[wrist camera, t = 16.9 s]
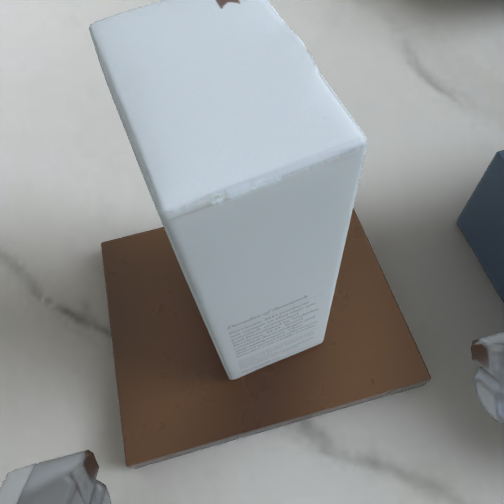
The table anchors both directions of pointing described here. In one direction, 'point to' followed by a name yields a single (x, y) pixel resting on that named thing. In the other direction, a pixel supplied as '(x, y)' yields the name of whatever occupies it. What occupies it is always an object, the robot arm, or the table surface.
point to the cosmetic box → (239, 165)
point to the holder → (487, 222)
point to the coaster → (257, 382)
